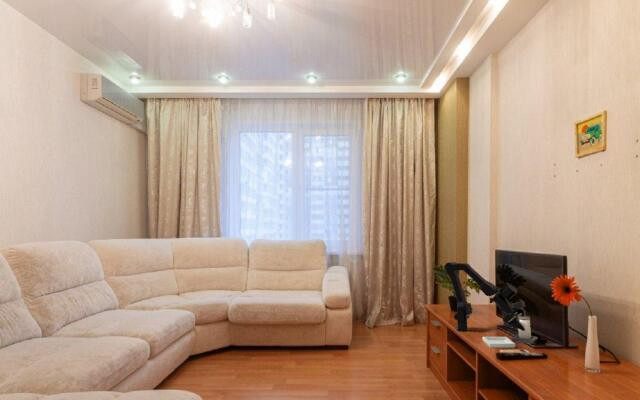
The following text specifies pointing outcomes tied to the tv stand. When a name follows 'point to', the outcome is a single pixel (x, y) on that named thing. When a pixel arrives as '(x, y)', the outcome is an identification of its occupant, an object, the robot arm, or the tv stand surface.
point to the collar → (523, 341)
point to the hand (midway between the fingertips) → (527, 328)
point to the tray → (498, 342)
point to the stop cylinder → (526, 324)
